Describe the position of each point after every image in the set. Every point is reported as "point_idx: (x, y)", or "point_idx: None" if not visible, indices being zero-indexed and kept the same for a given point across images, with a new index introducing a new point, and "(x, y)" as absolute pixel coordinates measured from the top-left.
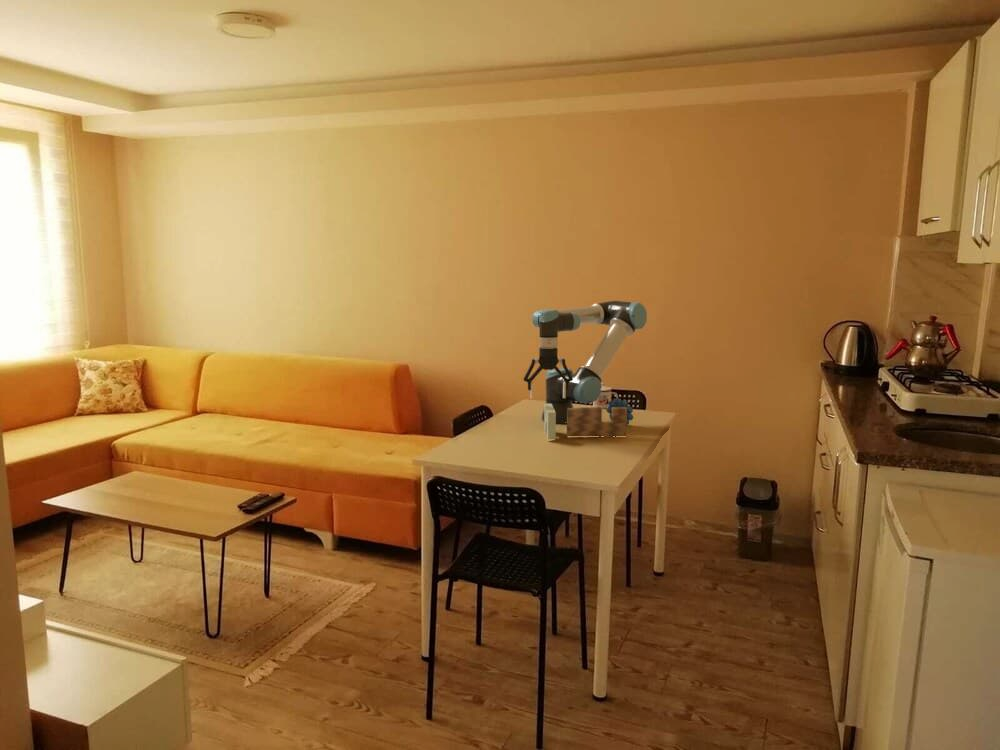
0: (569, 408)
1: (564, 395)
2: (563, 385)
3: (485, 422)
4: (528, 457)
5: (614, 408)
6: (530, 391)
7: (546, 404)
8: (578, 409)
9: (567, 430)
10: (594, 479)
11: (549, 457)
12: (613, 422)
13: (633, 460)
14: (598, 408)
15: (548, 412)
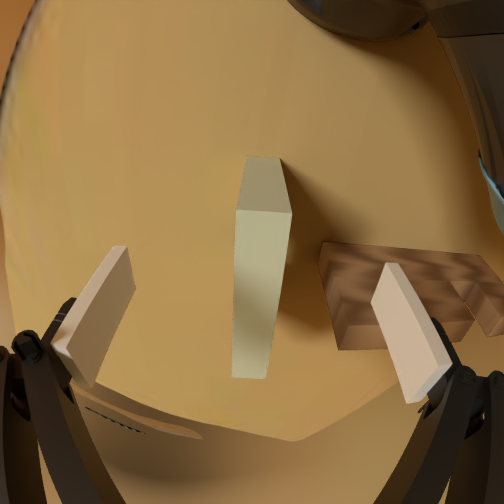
0: (354, 334)
1: (381, 317)
2: (411, 360)
3: (34, 24)
4: (181, 377)
5: (493, 332)
6: (93, 277)
7: (248, 235)
8: (383, 348)
9: (324, 272)
10: (278, 436)
11: (226, 383)
12: (467, 303)
13: (376, 396)
14: (458, 334)
15: (233, 376)
